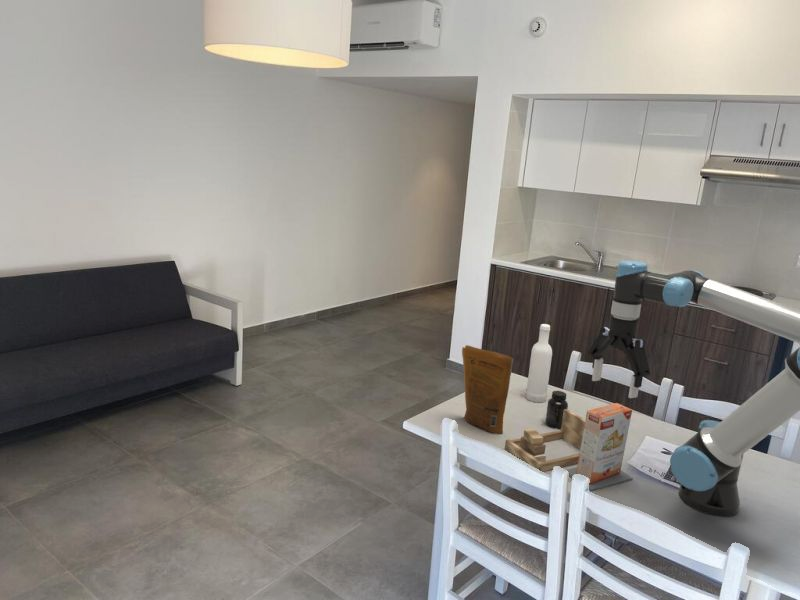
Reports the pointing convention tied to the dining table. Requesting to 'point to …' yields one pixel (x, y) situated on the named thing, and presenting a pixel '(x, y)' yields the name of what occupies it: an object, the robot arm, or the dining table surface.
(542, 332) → the bottle
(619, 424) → the cracker box
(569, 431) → the oak rack
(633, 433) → the dining table surface
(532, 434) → the oak offcut
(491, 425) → the pancake mix bag
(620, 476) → the felt mat
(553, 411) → the supplement bottle
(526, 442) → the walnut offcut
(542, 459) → the birch offcut
